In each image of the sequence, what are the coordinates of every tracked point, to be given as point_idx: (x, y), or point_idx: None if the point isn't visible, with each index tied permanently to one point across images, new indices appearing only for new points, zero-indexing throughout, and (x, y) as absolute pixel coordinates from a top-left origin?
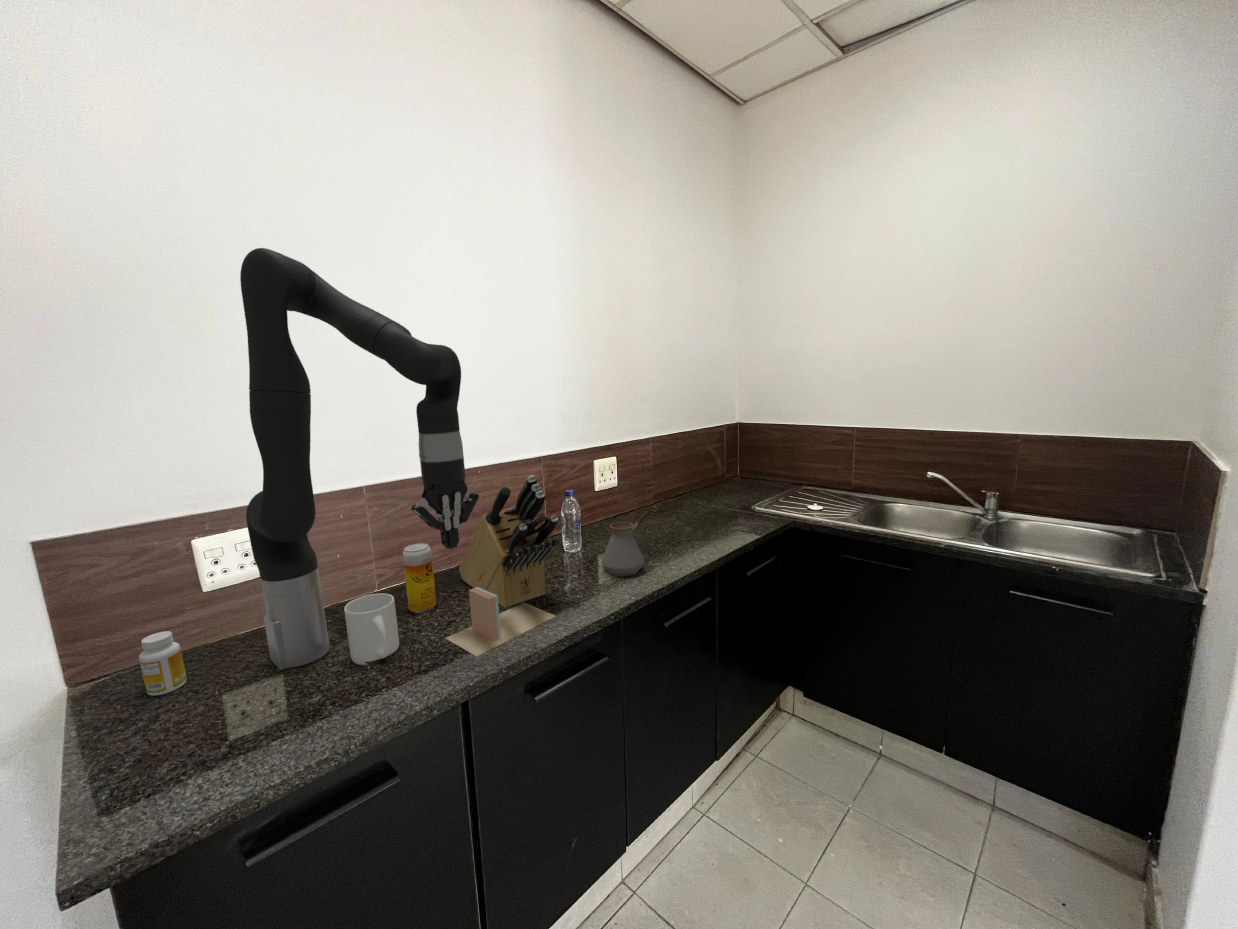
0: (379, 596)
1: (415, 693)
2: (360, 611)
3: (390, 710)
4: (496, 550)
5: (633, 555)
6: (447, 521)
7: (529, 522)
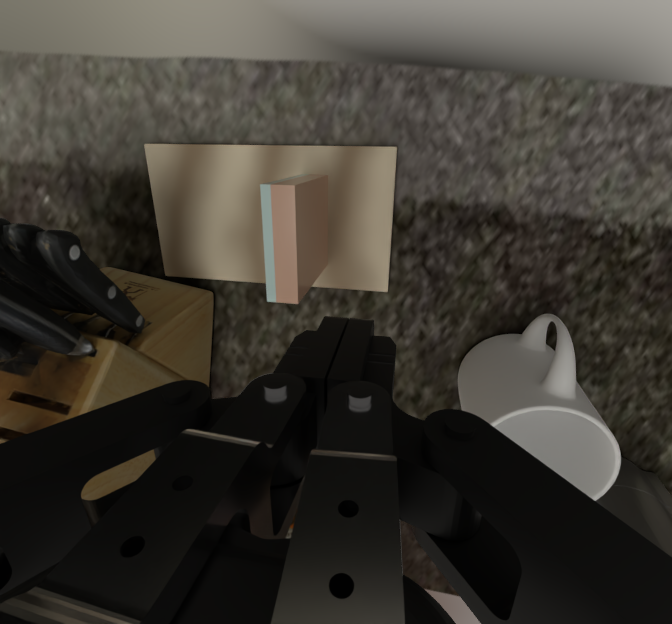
0: None
1: (575, 149)
2: None
3: (657, 133)
4: (112, 389)
5: None
6: (355, 435)
7: None
